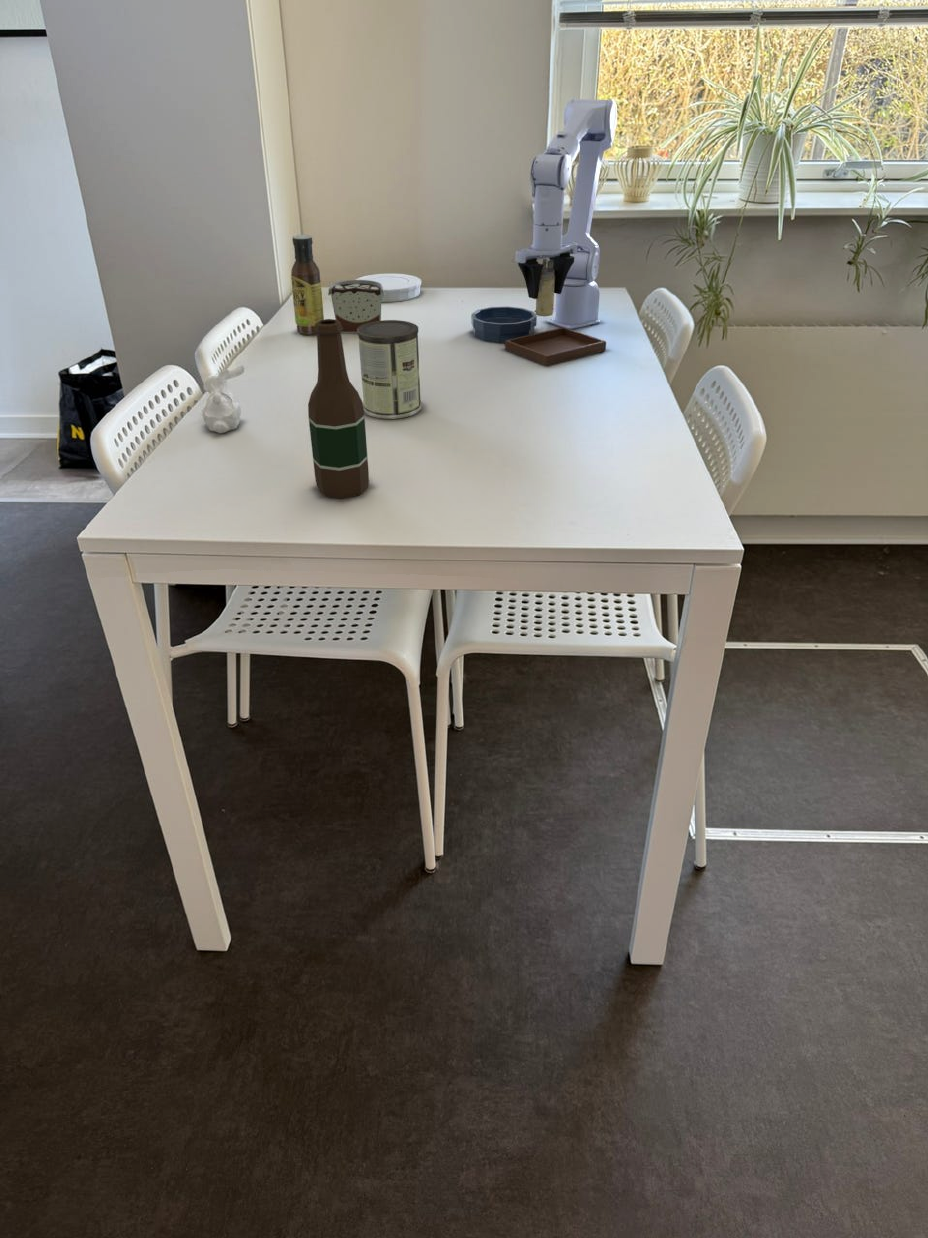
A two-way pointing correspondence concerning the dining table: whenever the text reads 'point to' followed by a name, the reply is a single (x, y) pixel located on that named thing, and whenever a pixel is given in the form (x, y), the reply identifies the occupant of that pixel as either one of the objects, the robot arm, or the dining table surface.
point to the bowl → (502, 323)
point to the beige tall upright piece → (546, 290)
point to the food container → (356, 303)
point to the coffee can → (390, 368)
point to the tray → (555, 346)
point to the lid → (396, 286)
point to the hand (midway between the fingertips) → (545, 295)
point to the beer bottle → (336, 420)
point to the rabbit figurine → (221, 402)
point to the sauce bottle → (306, 286)
